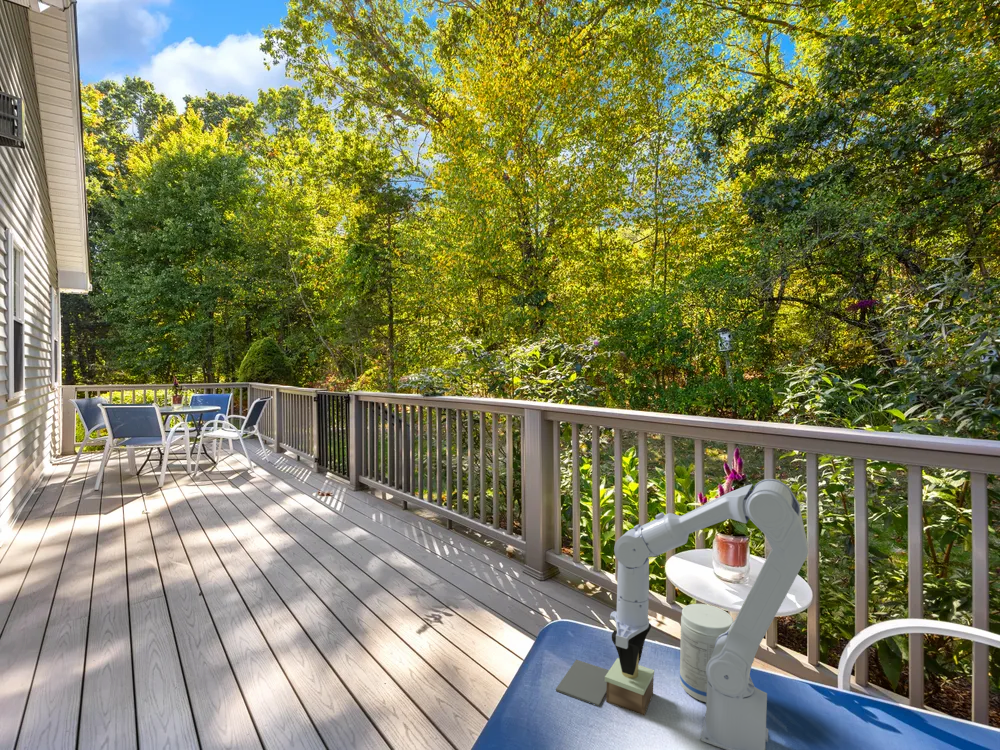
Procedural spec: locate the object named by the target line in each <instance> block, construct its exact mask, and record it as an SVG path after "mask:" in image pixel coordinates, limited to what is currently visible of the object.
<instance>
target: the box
mask: <svg viewBox="0 0 1000 750" xmlns="http://www.w3.org/2000/svg"><path fill="white" fill-rule="evenodd" d="M654 677H655V675H654V676H653V678H652V680H651V682H650V684H649V686H648V687H647V689H646V691H645V693H644V695H641V694H638V693H636V692H633V691H630V690H628V689H625V688H622V687H620V686H617V685H614V684H611V683H609V682H607V690H606V694H605V696H606V697H605V699H606V700H605V703H608V704H610V705H614V706H616V707H619V708H621V709H625V710H627V711H630V712H633V713H635V714H638V715H641V716H643V717H645V715H646V713H647V711H648V708H649V705H650V703H651V700H652V698H653V695H654V679H655V678H654Z"/></svg>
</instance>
